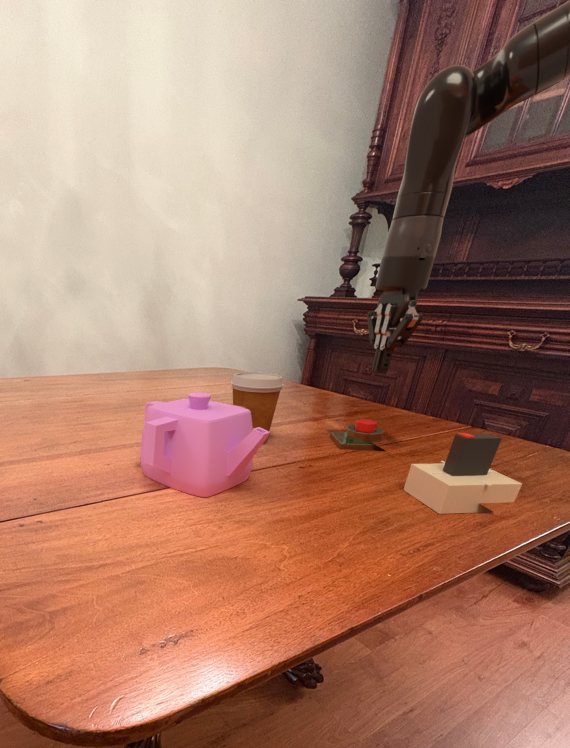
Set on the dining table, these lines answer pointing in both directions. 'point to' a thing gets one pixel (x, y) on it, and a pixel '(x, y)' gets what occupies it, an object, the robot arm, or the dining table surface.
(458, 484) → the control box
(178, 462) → the teakettle
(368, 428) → the power button
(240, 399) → the disposable coffee cup
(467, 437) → the switch lever
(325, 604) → the dining table surface
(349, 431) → the switch block
